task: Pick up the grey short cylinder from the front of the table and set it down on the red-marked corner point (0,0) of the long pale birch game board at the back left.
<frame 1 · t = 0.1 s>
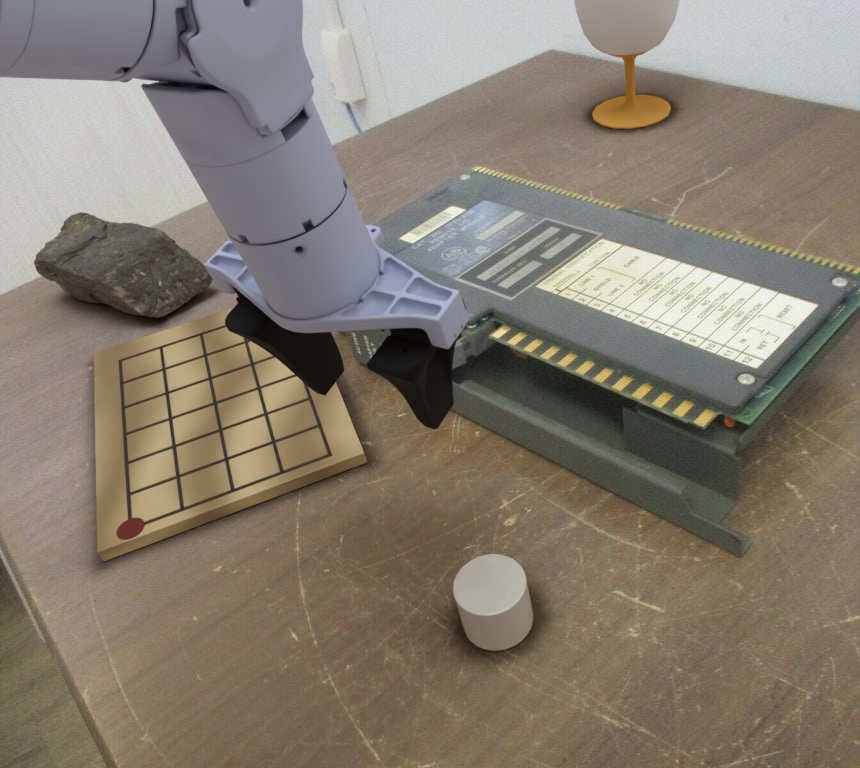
hand: (383, 397, 47), 10 cm above the table, tool pointing down, fingers open, 7 cm apart
grey short cylinder: (498, 619, 47), on the table
cup: (631, 114, 97), on the table
board: (214, 386, 67), on the table
rock: (135, 299, 79), on the table
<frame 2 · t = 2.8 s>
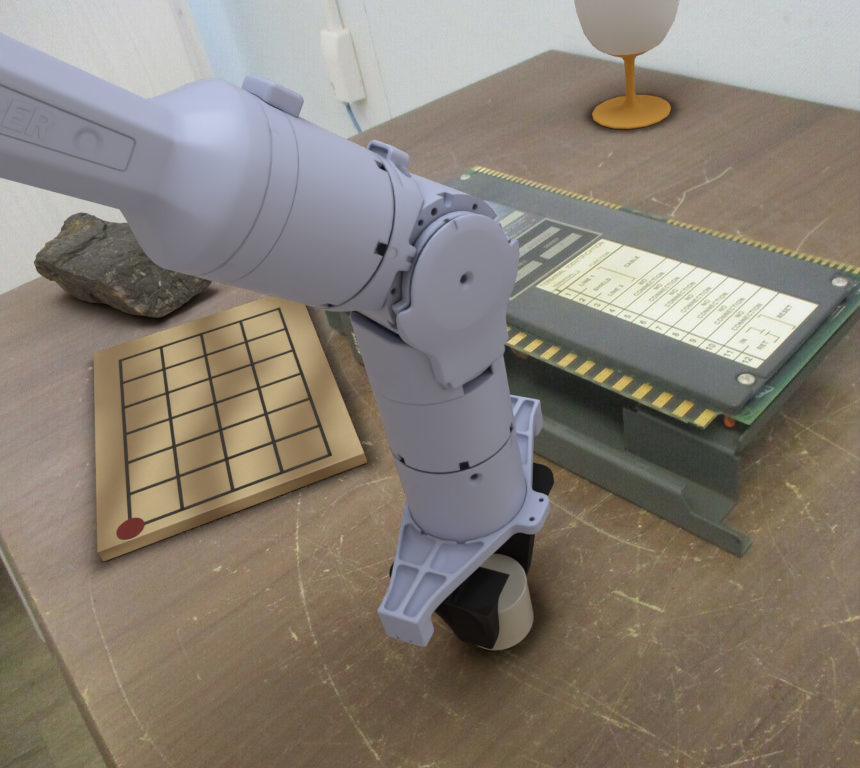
hand: (494, 605, 46), 1 cm above the table, tool pointing down, fingers closed on grey short cylinder, 4 cm apart
grey short cylinder: (498, 619, 47), on the table, touching gripper
everything else where it was.
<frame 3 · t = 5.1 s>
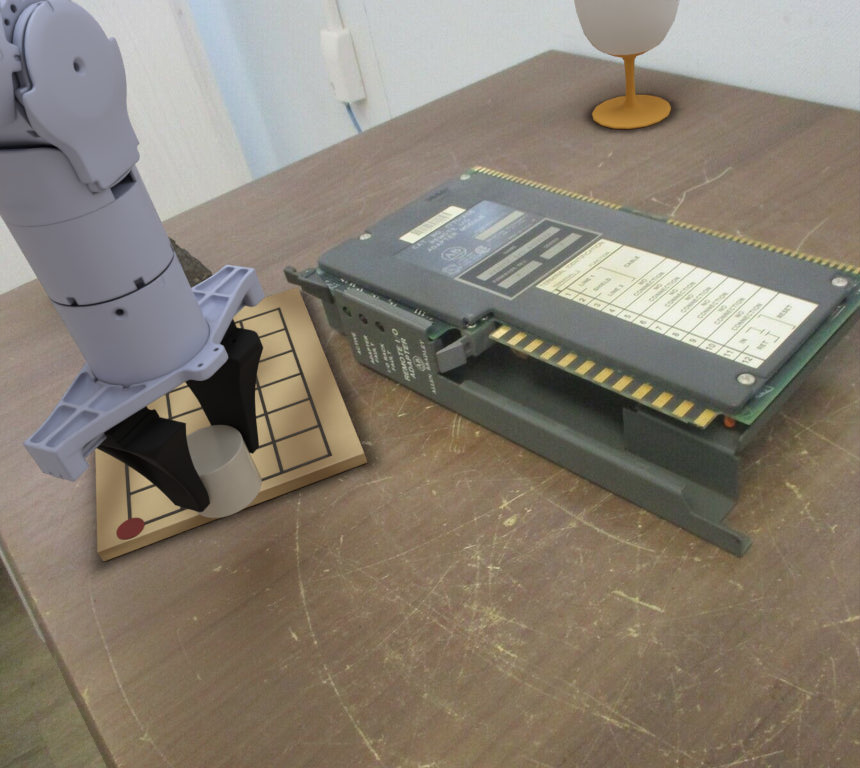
hand: (217, 474, 47), 8 cm above the table, tool pointing down, fingers closed on grey short cylinder, 4 cm apart
grey short cylinder: (227, 491, 48), point 7 cm above the table, touching gripper
everything else where it was.
when the fingers open (2 cm above the table, at t = 7.7 s): grey short cylinder stays where it is, resting on board.
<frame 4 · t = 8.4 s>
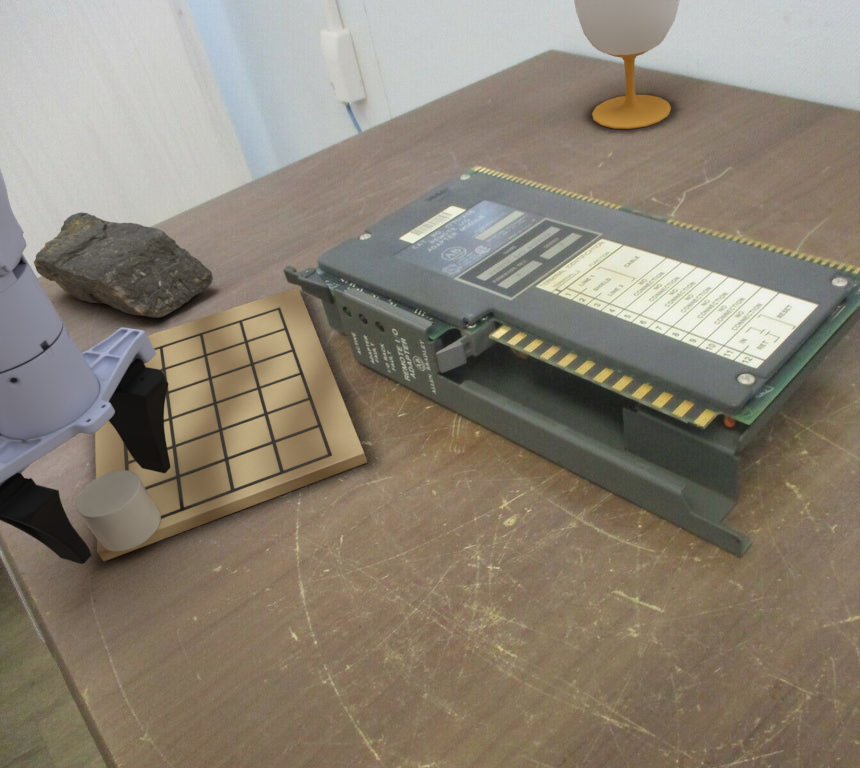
hand: (118, 509, 54), 3 cm above the table, tool pointing down, fingers open, 7 cm apart
grey short cylinder: (130, 527, 55), point 1 cm above the table, touching board
everything else where it was.
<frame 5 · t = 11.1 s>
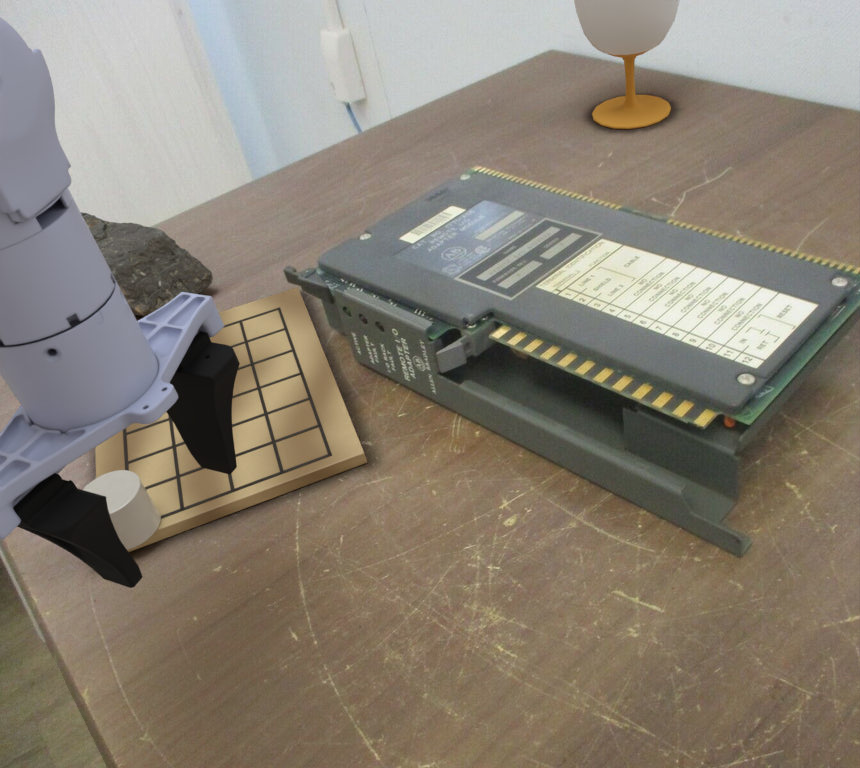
hand: (174, 519, 43), 9 cm above the table, tool pointing down, fingers open, 7 cm apart
nothing on the table moved.
at the end: grey short cylinder 0.0 cm from the target spot on the board, point 1.1 cm above the board's base; grey short cylinder tilted 0°; the gripper is holding nothing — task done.
